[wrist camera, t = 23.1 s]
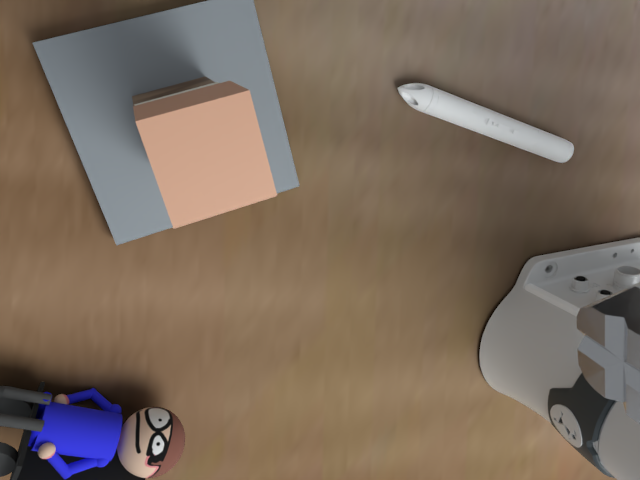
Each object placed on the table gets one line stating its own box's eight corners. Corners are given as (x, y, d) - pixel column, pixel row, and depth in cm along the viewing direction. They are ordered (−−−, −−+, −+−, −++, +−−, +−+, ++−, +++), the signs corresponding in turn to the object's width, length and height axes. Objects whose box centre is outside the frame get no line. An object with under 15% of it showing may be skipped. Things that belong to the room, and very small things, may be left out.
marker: (386, 99, 44) (399, 103, 42) (396, 73, 44) (409, 75, 42) (551, 160, 51) (570, 166, 49) (561, 139, 51) (580, 143, 49)
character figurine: (-5, 351, 41) (187, 392, 48) (-38, 436, 42) (155, 465, 48) (-27, 408, 34) (202, 448, 41) (-66, 509, 35) (165, 532, 41)
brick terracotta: (254, 171, 31) (277, 195, 26) (165, 198, 30) (173, 228, 25) (229, 80, 29) (249, 90, 24) (132, 106, 28) (135, 121, 23)
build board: (247, -9, 38) (250, -10, 37) (295, 182, 44) (299, 185, 43) (35, 42, 35) (32, 42, 34) (116, 239, 41) (116, 245, 40)
